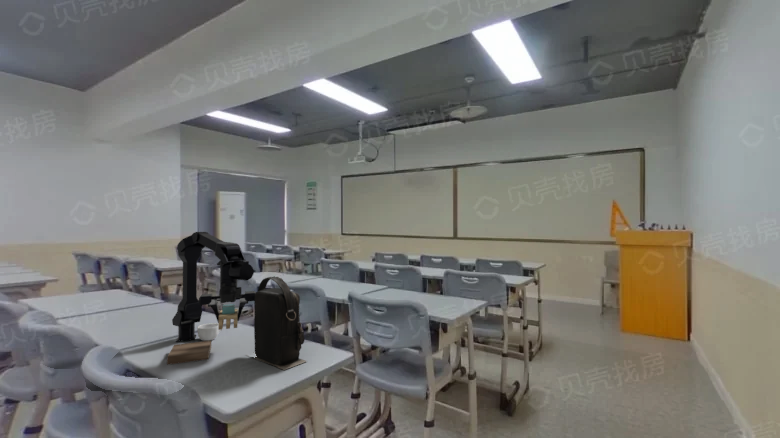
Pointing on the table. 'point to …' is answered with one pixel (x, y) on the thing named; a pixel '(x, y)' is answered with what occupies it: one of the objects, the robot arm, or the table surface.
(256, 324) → the shoulder bag
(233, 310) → the teal square block
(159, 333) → the table surface
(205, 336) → the teacup
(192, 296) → the robot arm
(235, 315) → the pallet
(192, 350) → the block
